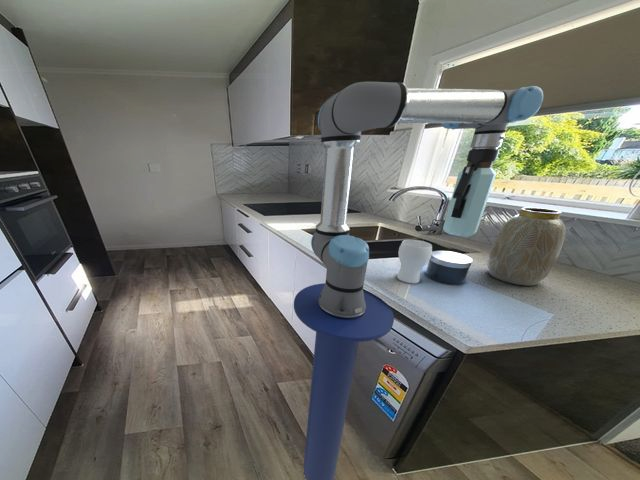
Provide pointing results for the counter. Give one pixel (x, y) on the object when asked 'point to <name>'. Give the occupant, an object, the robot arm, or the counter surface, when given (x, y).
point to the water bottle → (471, 201)
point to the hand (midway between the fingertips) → (463, 215)
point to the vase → (527, 247)
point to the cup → (413, 259)
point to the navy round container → (448, 267)
